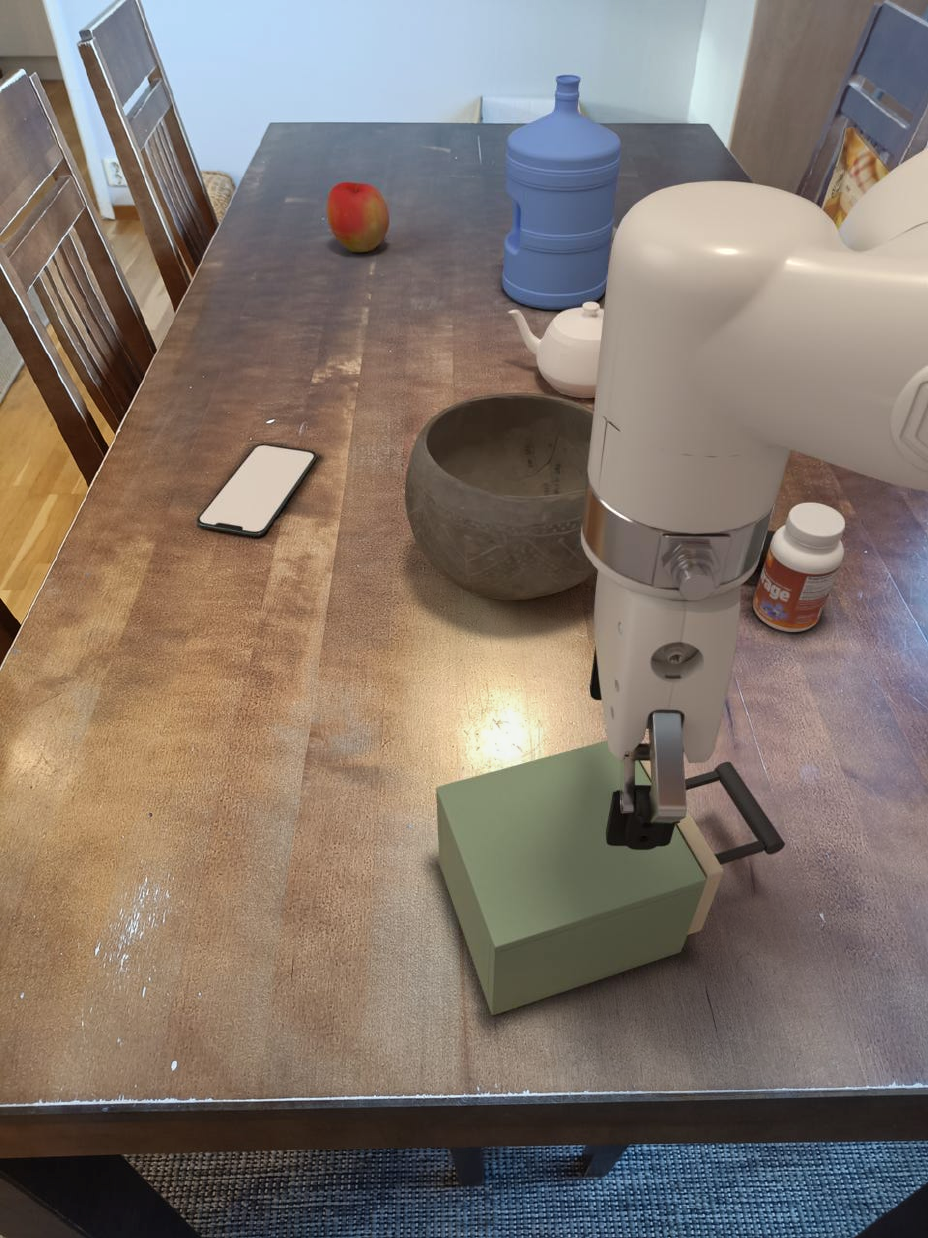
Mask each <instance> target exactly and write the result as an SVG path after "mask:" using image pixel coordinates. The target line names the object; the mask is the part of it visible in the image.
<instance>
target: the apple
mask: <svg viewBox="0 0 928 1238" xmlns="http://www.w3.org/2000/svg"><path fill="white" fill-rule="evenodd" d="M326 215H327V222H328V225H329V228H330V230H331V232H332V235H334V237H335V238H336V240H338V242H339V243H340V244H341V245H342V246H344V247H345V248H346V249H347V250H348V251H349V252H352V253H367V252H370V251H372V250H373V249H375V248H377V247H378V246H379V245H380V243H382V241H383V240H384V239H385V237H386V235H387V234H388V231H389V226H390V213H389V209H388V205H387V203H386V201H385V198H384V196H383V195H382V193H381V192H380V191H379V190H378V189H377V188H376V187H375V186H373V185H372V184H369V183H361V182H352V181H344V182H339V183H337V184H335V185H334V186H333V187H332V188H331V190H330V191H329V194H328V197H327V204H326Z"/></svg>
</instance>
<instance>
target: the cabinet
mask: <svg viewBox="0 0 928 1238" xmlns="http://www.w3.org/2000/svg"><path fill="white" fill-rule="evenodd" d="M635 785H651V782H650V780H649V778H648V777H647V775H646V773H645V772H644V770H643V768H642V766H641V765H640V763H639V761H635ZM435 790H436V791H435V799H436V800H435V801H436V821H437V841H438V842H437V843H438V844H437V845H438V862H439V867H440V871H441V872H442V873H441V874H442V875H443V879H444V881H445V885H446V888H447V891H448V893H449V895H450V898H451V902H452V904H453V907H454V911H455V913H456V916H457V919H458V923H459V925H460V927H461V930H462V934H463V937H464V939H465V942H466V945H467V948H468V950H469V954H470V957H471V959H472V962H473V965H474V968H475V971H476V973H477V977H478V980H479V982H480V985H481V989H482V991H483V993H484V994H483V995H484V997H485V1001H486V1003H487V1006H488V1008H489V1011H490V1015H491V1016H496V1015H498V1014H499V1015H500V1014H502V1013H505V1012H509V1011H511V1010H513V1009H517V1008H519V1007H523V1006H525V1005H528V1004H531V1003H534V1002H537V1001H540V1000H544V999H545V998H549V997H552V996H556V995H558V994H561V993H564V992H567V991H570V990H573V989H576V988H580V987H581V986H585V985H589V984H591V983H594V982H597V981H600V980H603V979H606V978H609V977H611V976H615V975H618V974H620V973H624V972H626V971H629V970H632V969H635V968H639V967H641V966H644V965H647V964H650V963H653V962H656V961H659V960H661V959H665V958H667V957H671V956H673V955H677V954H679V953H682V950H683V948H684V945H685V942H686V941H687V937H688V936H689V935H688V932H689V929H690V926H691V924H692V921H693V918H694V915H695V912H696V910H697V907H698V904H699V901H700V899H701V896H702V893H703V890H704V887H705V884H706V881H707V879H706V877H705V875H704V874H703V872H702V870H701V868H700V867H699V865H698V863H697V861H696V860H695V858H694V856H693V855H692V853H691V851H690V849H689V848H688V846H687V844H686V842H685V841H684V839H683V837H682V836H681V834H680V832H679V830H678V829H677V827H676V825H675V827H674V831H673V834H672V838H671V841H670V844H668V845H667V846H661V847H659V846H657V847H655V848H653V849H650V850H633V849H630V848H628V847H627V846H610V845H608V844H607V842H606V828H607V822H608V817H609V811H610V806H611V800H612V795H613V792H616V791H617V790H620V760H618V759H617V758H616V757H615V756H614V755H613V754H612V753H611V752H610V750H609V747H608V742H607V740H604V741H601V742H600V741H599V742H596V743H593V744H588V745H585V746H581V747H578V748H574V749H571V750H567V751H563V752H560V753H555V754H552V755H549V756H544V757H542V758H537V759H535V760H531V761H527V762H524V763H520V764H515V765H513V766H509V767H505V768H501V769H498V770H494V771H490V772H487V773H482V774H479V775H476V776H471V777H468V778H465V779H460V780H457V781H454V782H450V783H446V784H442V785H439V786H437V787H435Z"/></svg>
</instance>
